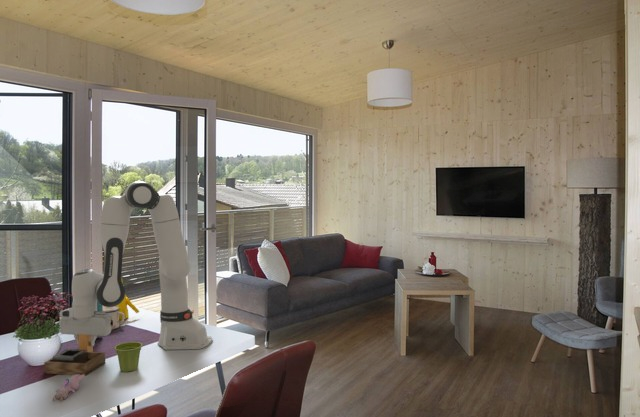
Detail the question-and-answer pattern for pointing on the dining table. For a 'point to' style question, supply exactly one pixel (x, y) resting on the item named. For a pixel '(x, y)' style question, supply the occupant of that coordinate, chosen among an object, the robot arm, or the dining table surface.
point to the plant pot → (128, 355)
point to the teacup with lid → (114, 316)
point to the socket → (71, 356)
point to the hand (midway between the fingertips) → (85, 345)
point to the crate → (76, 365)
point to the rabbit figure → (68, 387)
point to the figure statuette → (125, 307)
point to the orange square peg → (85, 342)
